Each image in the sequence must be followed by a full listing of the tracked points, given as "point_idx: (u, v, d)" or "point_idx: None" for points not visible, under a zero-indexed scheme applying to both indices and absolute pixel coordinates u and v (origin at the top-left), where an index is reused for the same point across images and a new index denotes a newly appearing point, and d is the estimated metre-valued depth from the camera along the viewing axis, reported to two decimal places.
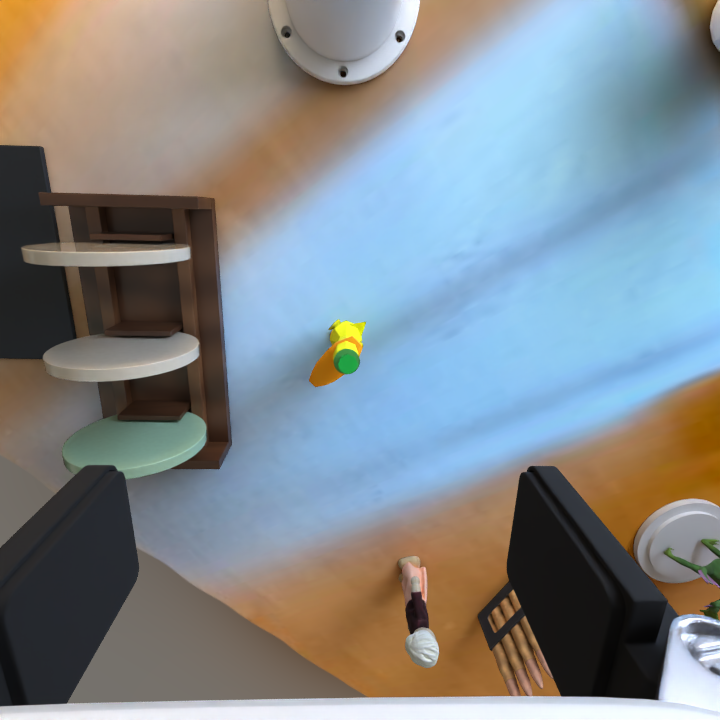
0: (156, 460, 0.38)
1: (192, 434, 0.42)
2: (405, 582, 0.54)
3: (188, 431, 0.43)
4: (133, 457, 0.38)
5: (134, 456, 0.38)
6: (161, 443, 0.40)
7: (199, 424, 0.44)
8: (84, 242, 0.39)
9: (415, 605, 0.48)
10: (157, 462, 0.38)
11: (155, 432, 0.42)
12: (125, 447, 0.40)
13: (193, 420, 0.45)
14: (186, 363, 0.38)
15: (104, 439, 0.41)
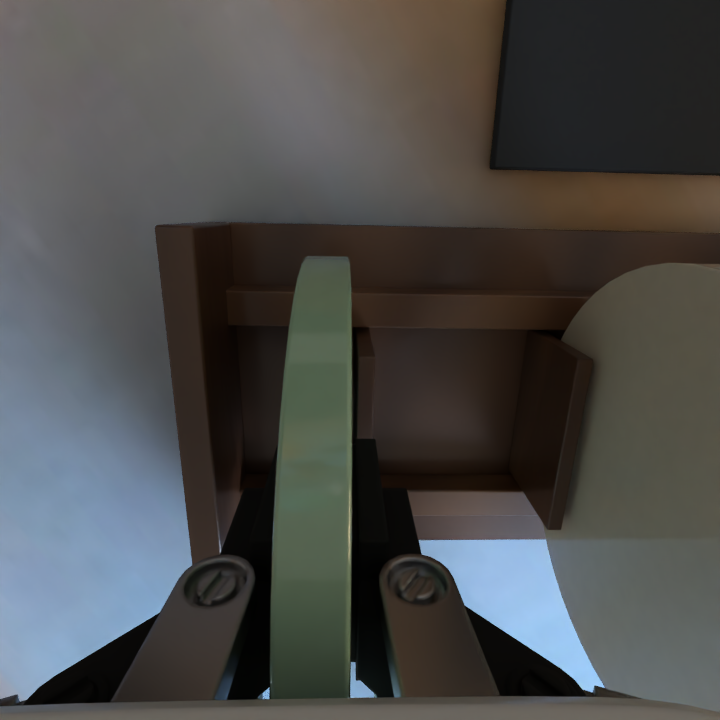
0: None
1: None
2: None
3: None
4: None
5: None
6: None
7: None
8: None
9: None
10: None
11: None
12: None
13: None
14: None
15: None
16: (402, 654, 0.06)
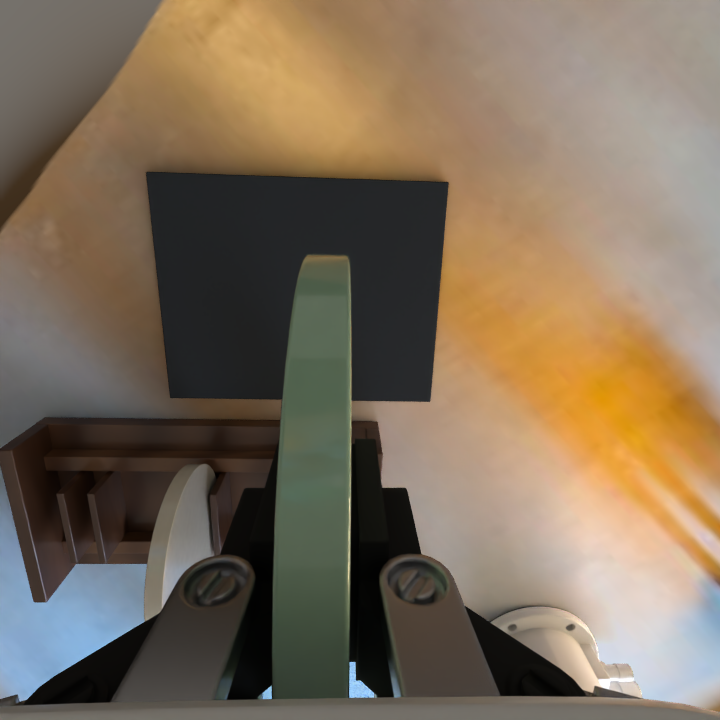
0: None
1: None
2: None
3: None
4: None
5: None
6: None
7: None
8: None
9: None
10: None
11: None
12: None
13: None
14: None
15: None
16: (402, 653, 0.06)
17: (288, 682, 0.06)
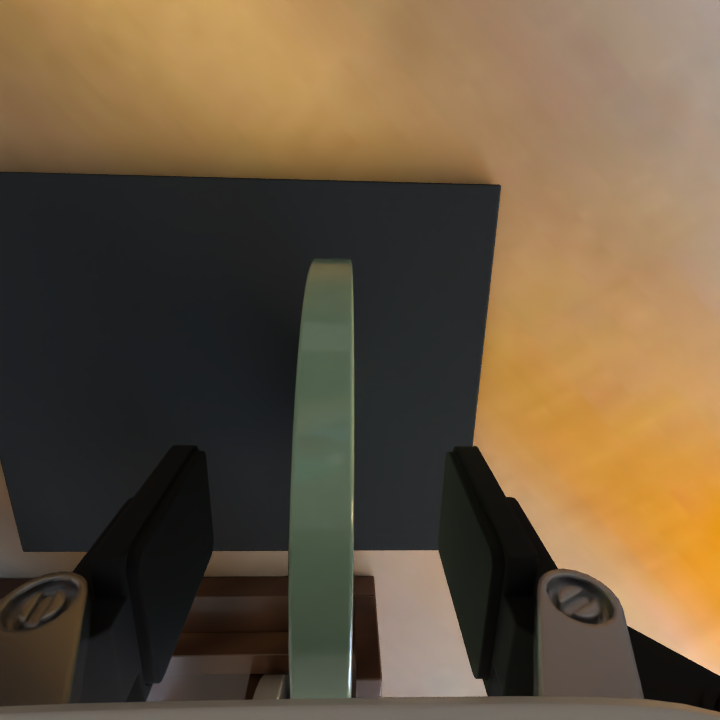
0: None
1: None
2: None
3: None
4: None
5: None
6: None
7: None
8: None
9: None
10: None
11: None
12: None
13: None
14: None
15: None
16: (597, 678, 0.06)
17: (302, 624, 0.07)
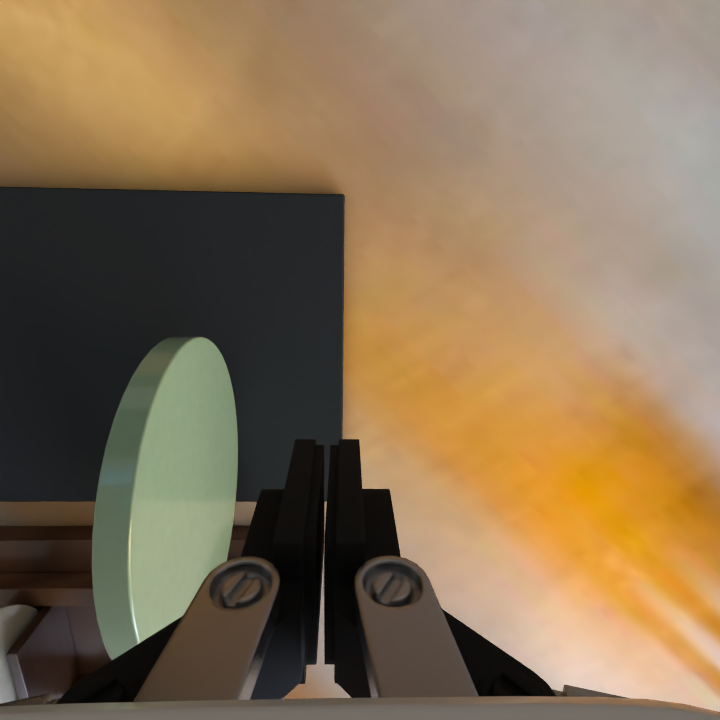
0: None
1: (226, 533, 0.21)
2: None
3: (226, 514, 0.21)
4: None
5: (186, 607, 0.16)
6: (208, 555, 0.19)
7: (234, 491, 0.23)
8: None
9: None
10: None
11: (212, 492, 0.19)
12: (187, 549, 0.16)
13: (234, 467, 0.23)
14: None
15: (178, 479, 0.15)
16: (372, 657, 0.06)
17: None
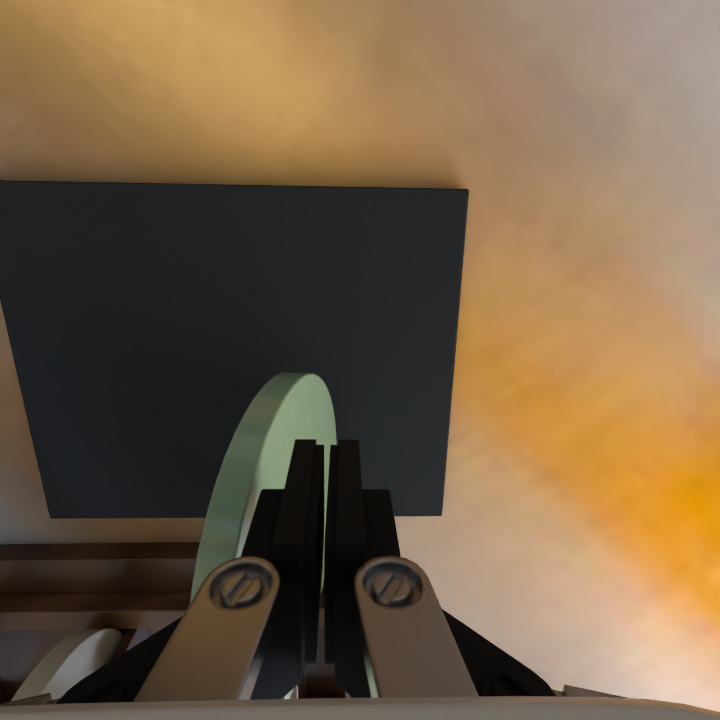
0: None
1: (323, 555, 0.21)
2: None
3: (324, 537, 0.20)
4: None
5: None
6: None
7: None
8: None
9: None
10: None
11: None
12: None
13: None
14: None
15: None
16: (372, 657, 0.06)
17: None
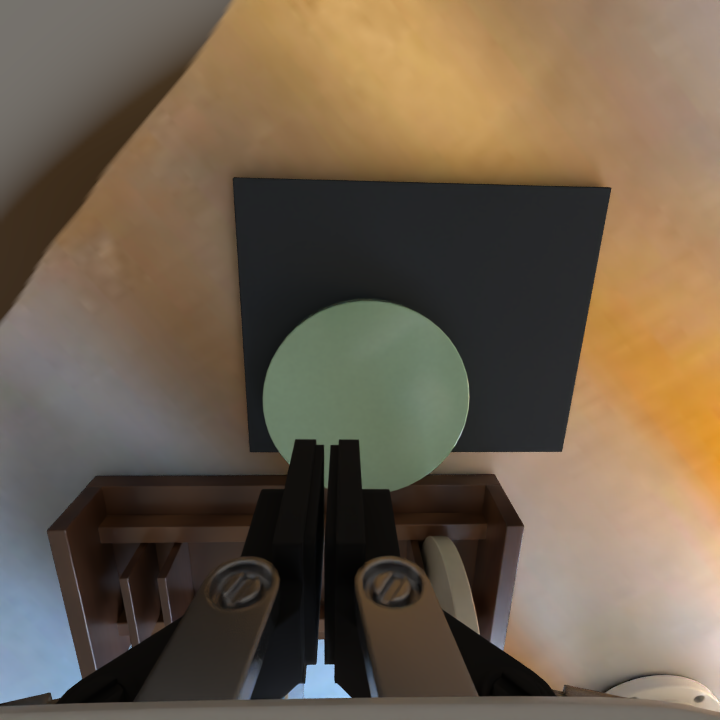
0: None
1: (421, 459, 0.27)
2: None
3: (423, 445, 0.27)
4: (329, 460, 0.27)
5: None
6: (375, 452, 0.27)
7: (448, 437, 0.27)
8: None
9: None
10: None
11: (388, 414, 0.26)
12: (335, 427, 0.26)
13: (452, 419, 0.27)
14: None
15: (325, 381, 0.26)
16: (372, 657, 0.06)
17: None
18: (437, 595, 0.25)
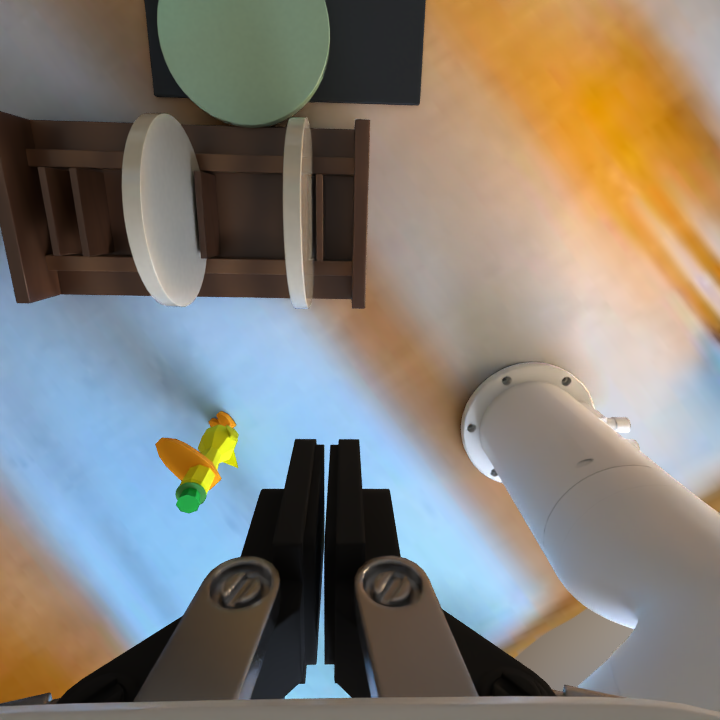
0: (232, 117, 0.33)
1: (293, 88, 0.33)
2: None
3: (294, 74, 0.32)
4: (216, 87, 0.33)
5: (217, 86, 0.33)
6: (254, 80, 0.32)
7: (315, 67, 0.32)
8: (312, 162, 0.32)
9: None
10: (231, 121, 0.33)
11: (262, 41, 0.32)
12: (218, 53, 0.32)
13: (316, 48, 0.32)
14: None
15: (207, 6, 0.31)
16: (372, 657, 0.06)
17: None
18: None
